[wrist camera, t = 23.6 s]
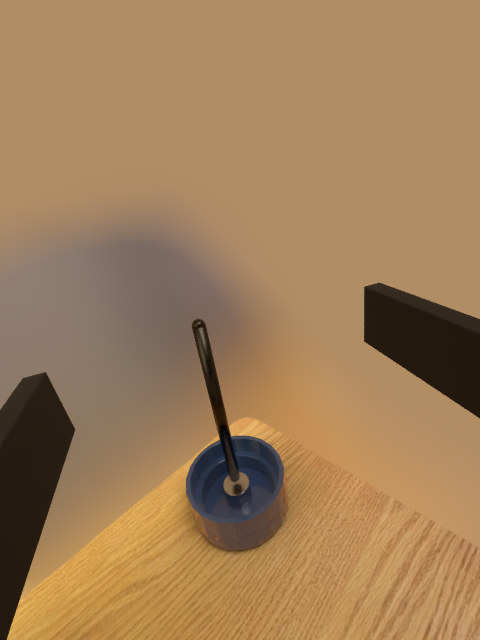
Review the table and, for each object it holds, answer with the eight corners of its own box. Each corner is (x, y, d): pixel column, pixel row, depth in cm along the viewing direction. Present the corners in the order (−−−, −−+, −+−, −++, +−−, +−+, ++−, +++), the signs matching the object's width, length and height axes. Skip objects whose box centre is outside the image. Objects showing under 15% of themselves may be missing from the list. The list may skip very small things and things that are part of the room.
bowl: (306, 495, 35) (303, 464, 33) (242, 580, 29) (233, 548, 26) (240, 450, 42) (234, 423, 40) (177, 510, 36) (167, 481, 34)
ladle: (256, 492, 36) (221, 314, 26) (242, 514, 34) (198, 329, 24) (236, 481, 37) (196, 310, 28) (221, 501, 35) (172, 324, 26)
